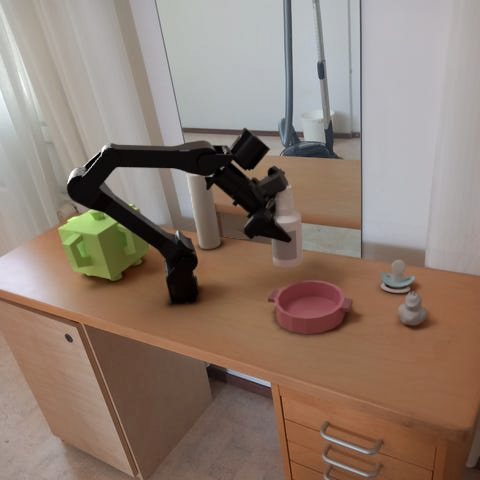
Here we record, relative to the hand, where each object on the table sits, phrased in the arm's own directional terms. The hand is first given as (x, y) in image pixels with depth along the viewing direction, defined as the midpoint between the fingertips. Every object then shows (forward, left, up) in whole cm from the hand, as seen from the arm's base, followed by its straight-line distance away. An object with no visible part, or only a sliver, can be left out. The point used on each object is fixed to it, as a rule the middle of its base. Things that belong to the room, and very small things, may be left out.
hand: (292, 234), depth 109 cm
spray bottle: (-1, 0, -7) cm, 7 cm away
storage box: (-49, +19, -13) cm, 54 cm away
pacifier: (+22, -5, -13) cm, 26 cm away
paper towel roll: (-22, +27, -13) cm, 37 cm away
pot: (+2, -12, -13) cm, 18 cm away
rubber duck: (+22, -18, -13) cm, 32 cm away
